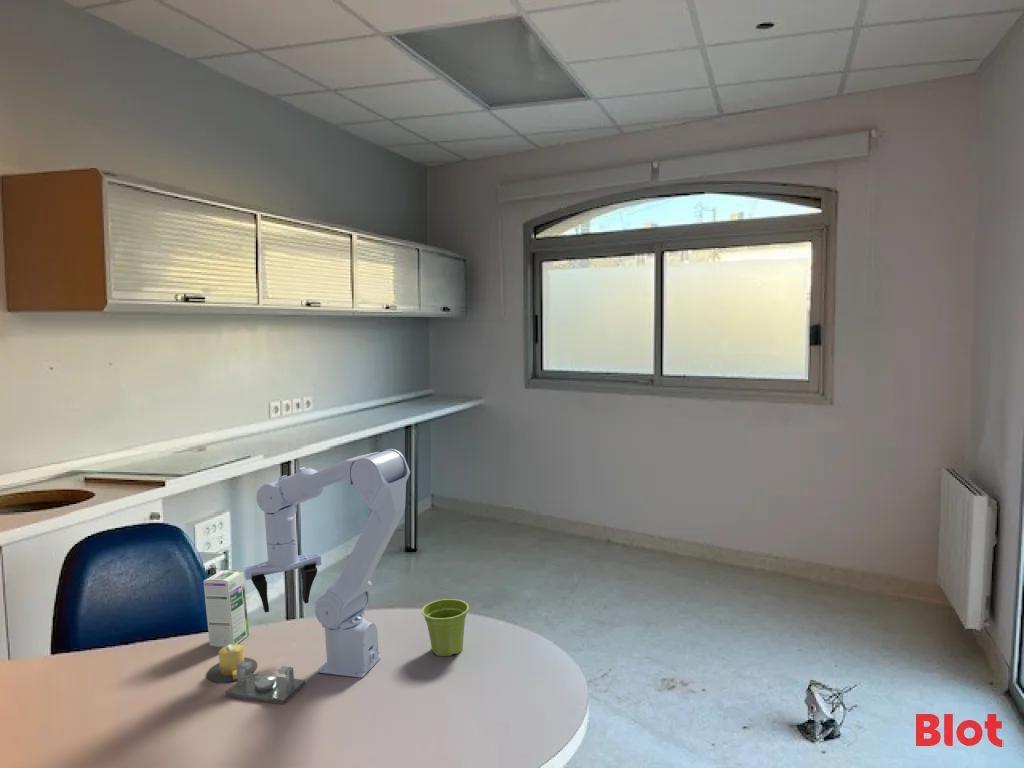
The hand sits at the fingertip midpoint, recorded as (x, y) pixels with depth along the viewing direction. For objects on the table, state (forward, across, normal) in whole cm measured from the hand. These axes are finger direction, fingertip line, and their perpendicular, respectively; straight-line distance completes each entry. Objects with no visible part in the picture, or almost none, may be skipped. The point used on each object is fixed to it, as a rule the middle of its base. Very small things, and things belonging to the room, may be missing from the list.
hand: (286, 605), depth 138 cm
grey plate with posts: (+10, +7, +12) cm, 17 cm away
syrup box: (+10, +10, -13) cm, 19 cm away
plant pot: (+10, -28, +16) cm, 34 cm away
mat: (+10, +11, +1) cm, 15 cm away
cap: (+10, +11, +1) cm, 15 cm away
